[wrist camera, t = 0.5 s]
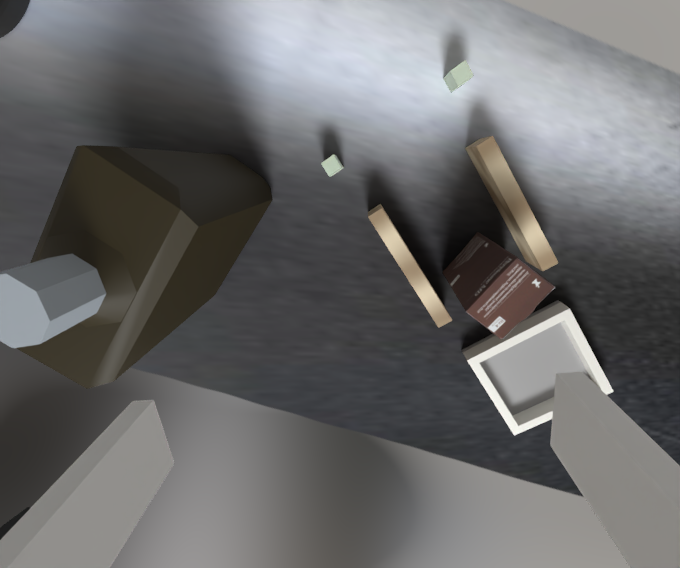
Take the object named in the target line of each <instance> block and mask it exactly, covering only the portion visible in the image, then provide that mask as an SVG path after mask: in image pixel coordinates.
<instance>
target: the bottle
mask: <svg viewBox="0 0 680 568" xmlns="http://www.w3.org/2000/svg"><path fill="white" fill-rule="evenodd" d="M272 200H273V199H272V194H271V190H270V187H269V186H268V184H267V183H266V181H265V180H264V179H263V177H261V176H260V175H258V174H257V173H255V172H254V171H253V170H251V169H250V168H248V167H247V166H245V165H244V164H242V163H241V162H240V161H238V160H237V159H235V158H234V157H232V156H231V155H224V154H211V153H197V152H183V151H170V150H156V149H142V148H129V147H113V146H85V145H83V146H77V147H76V149H75V152H74V154H73V157H72V159H71V162H70V164H69V167H68V169H67V172H66V174H65V177H64V179H63V182H62V184H61V187H60V189H59V192H58V195H57V197H56V200H55V202H54V205H53V207H52V210H51V212H50V215H49V217H48V220H47V222H46V225H45V227H44V230H43V232H42V235H41V237H40V240H39V242H38V245H37V247H36V250H35V252H34V255H33V258H32V260H31V263H29V264H26V265H23V266H19V267H16V268H12V269H9V270H5V271H2V272H0V341H1V342H3V343H4V344H6V345H8V346H10V347H12V348H17V349H19V350H20V351H22V352H24V353H26V354H27V355H29V356H31V357H33V358H34V359H36V360H38V361H39V362H41V363H43V364H45V365H47V366H48V367H50V368H52V369H54V370H55V371H57V372H59V373H61V374H62V375H64V376H66V377H67V378H69V379H71V380H73V381H74V382H76V383H78V384H80V385H81V386H83V387H85V388H87V389H88V388H92V387H95V386H99V385H103V384H106V383H110V382H113V381H115V380H116V379H117V378H118V377H119V376H121V375H122V374H123V373H124V372H125V371H126V370H128V369H129V368H130V367H131V366H132V365H133V364H135V363H136V362H137V361H138V360H139V359H140V358H142V357H143V356H144V355H145V354H146V353H147V352H149V351H150V350H151V349H152V348H153V347H154V346H156V345H157V344H158V343H159V342H160V341H161V340H163V339H164V338H165V337H166V336H167V335H169V334H170V333H171V332H172V331H173V330H174V329H176V328H177V327H178V326H179V325H180V324H181V323H183V322H184V321H185V320H186V319H187V318H188V317H190V316H191V315H192V314H193V313H194V312H195V311H197V310H198V309H199V308H200V307H201V306H202V305H204V304H205V303H206V302H207V301H208V300H209V299H211V298H212V297H213V296H214V295H215V294H216V292H217V290H218V289H219V287H220V285H221V284H222V282H223V281H224V279H225V277H226V276H227V274H228V272H229V271H230V269H231V267H232V266H233V264H234V262H235V261H236V259H237V257H238V256H239V254H240V252H241V251H242V249H243V248H244V246H245V244H246V243H247V241H248V239H249V238H250V236H251V234H252V233H253V231H254V229H255V228H256V226H257V224H258V223H259V221H260V219H261V218H262V216H263V214H264V213H265V211H266V210H267V208H268V206H269V205H270V203H271V201H272Z"/></svg>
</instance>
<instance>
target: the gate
mask: <svg viewBox="0 0 680 568" xmlns="http://www.w3.org/2000/svg"><path fill="white" fill-rule="evenodd" d="M473 76H474V75H473V73H472V71H471V70H470V68H469V66H468V64H467V62H466V60H465V61H463V62H462V63H460V64H459V65H458V66H456V67H455V68H453V69H452V70H451V71H450V72H449V73H448V74H447V75H446V76H445V77H444V78H443V79H444V81H445V82H446V84H447V86H448V88H449V90H450V92H453V91H454V90H456V89H457V88H459V87H460V86H461V85H463V84H464V83H466V82H467V81H468V80H469V79H470V78H472V77H473ZM321 165H322V166H323V168H324V169H325V171H326V172H327V174H328V175H329V177H331V176H333V175H334V174H336V173H337V172H339V171H340V170H342V169H343V168H344V167H343V165H342V164H341V162H340V161H339V159H338V158H337V156H336V155H334V154H333V155H332V156H331V157H329V158H328V159H326V160H325V161H324V162H322V163H321Z"/></svg>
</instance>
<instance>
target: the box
mask: <svg viewBox="0 0 680 568" xmlns="http://www.w3.org/2000/svg"><path fill="white" fill-rule="evenodd" d="M443 274H444V276H445V278H446V279H447V281H448V283H449V284H450V286H451V288H452V289H453V291H454V293H455V294H456V296H457V298H458V299H459V301H460V303H461V304H462V306H463V307H464V309H465V311H466V312H467V313H468V314H469V315H471V316H472V317H473V318H474V319H476V320H477V321H478V322H479V323H481V324H482V325H483V326H485V327H486V328H487V329H488V330H490V331H491V332H492V333H493V334H494V335H496V336H497V337H498V338H499V339H503V338H505V337H506V336H507V335H508V333H510V332H511V331H512V330H513V329H514V328H515V326H516V325H517V324H519V323H520V322H521V321H523V320H524V319H526V318H527V317H528V316H529V315H530V314H531V313H532V312H533V311H534V309H535V308H536V306H537V305H538V304H539V303H540V302H541V301H542V300H543V299H544V298H545V297H546V296H547V295H548V294H549V293H550V292H551V291H552V290H553V289H554V288H555V286H554V285H553V284H551V283H550V282H549V281H547V280H546V279H545V278H544V277H543V276H541V275H540V274H539V273H538V272H536V271H535V270H534V269H532V268H531V267H529V266H528V265H527V264H525V263H524V262H523V261H522V260H520V259H519V258H518V257H516V256H515V255H513V254H512V253H510V252H508V251H507V250H505V249H504V248H502V247H501V246H499V245H498V244H496V243H495V242H493V241H491V240H490V239H488V238H487V237H485V236H484V235H482V234H481V233H479V232H477V233H476V234H475V235H474V237H473V238H472V239H471V240H470V241H469V243H468V244H467V245H466V246H465V247H464V248H463V250H462V251H461V252H460V253H459V254H458V255H457V257H456V258H455V259H454V260H453V261H452V262H451V263H450V264H449V266H448V267H447V268H446V269H445V270H444V271H443Z"/></svg>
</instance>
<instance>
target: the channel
mask: <svg viewBox="0 0 680 568" xmlns="http://www.w3.org/2000/svg"><path fill="white" fill-rule="evenodd" d="M465 149H466V151H467V153H468V154H469V156H470V158H471V160H472V162H473V164H474V166H475V167H476V169H477V171H478V173H479V175H480V177H481V179H482V180H483V182H484V184H485V186H486V188H487V190H488V192H489V193H490V195H491V197H492V199H493V201H494V203H495V204H496V206H497V208H498V210H499V212H500V214H501V216H502V217H503V219H504V221H505V223H506V225H507V227H508V229H509V230H510V232H511V234H512V236H513V238H514V240H515V241H516V243H517V245H518V247H519V249H520V251H521V253H522V254H523V256H524V258H525V260H526V261H527V262H528V263H530V264H532V265H533V266H535V267H537V268H538V269H540V270H541V271H544V270H546V269H548V268H550V267H552V266H554V265H556V264H557V263H558V261H557V259H556V257H555V255H554V253H553V251H552V249H551V248H550V246H549V244H548V242H547V240H546V238H545V236H544V234H543V232H542V230H541V228H540V226H539V224H538V222H537V220H536V219H535V217H534V215H533V213H532V211H531V209H530V207H529V205H528V203H527V201H526V199H525V197H524V195H523V193H522V191H521V189H520V188H519V186H518V184H517V182H516V180H515V178H514V176H513V174H512V172H511V170H510V168H509V166H508V164H507V162H506V160H505V159H504V157H503V155H502V153H501V151H500V149H499V147H498V145H497V143H496V141H495V139H494V137H493V136H489V137H485V138H481V139H479V140H477V141H475V142H474V143H472V144H471V145H469V146H468V147H466V148H465ZM368 217H369V219H370V221H371V222H372V224H373V225H374V227H375V228H376V230H377V232H378V233H379V235H380V236H381V238H382V239H383V241H384V243H385V244H386V246H387V247H388V249H389V250H390V252H391V254H392V255H393V257H394V258H395V260H396V261H397V263H398V265H399V266H400V268H401V269H402V271H403V272H404V274H405V276H406V277H407V279H408V280H409V282H410V283H411V285H412V287H413V288H414V290H415V291H416V293H417V294H418V296H419V298H420V299H421V301H422V302H423V304H424V305H425V307H426V309H427V310H428V312H429V313H430V315H431V316H432V318H433V320H434V321H435V323H436V324H437V326H438V327H441V326H443V325H445V324H447V323H448V322H450V321H452V319H451V317H450V315H449V314H448V312H447V310H446V308H445V306H444V305H443V303H442V302H441V300H440V298H439V297H438V295H437V293H436V292H435V290H434V289H433V287H432V285H431V284H430V282H429V281H428V279H427V277H426V276H425V274H424V273H423V271H422V269H421V268H420V266H419V265H418V263H417V261H416V260H415V258H414V256H413V255H412V253H411V252H410V250H409V248H408V247H407V245H406V244H405V242H404V240H403V239H402V237H401V236H400V234H399V232H398V231H397V229H396V228H395V226H394V224H393V223H392V221H391V220H390V218H389V216H388V215H387V213H386V211H385V210H384V208H383V207H382V205H381V204H379V205H378V206H376V207H375V208H373V209H372V210H370V211H369V212H368Z"/></svg>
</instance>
